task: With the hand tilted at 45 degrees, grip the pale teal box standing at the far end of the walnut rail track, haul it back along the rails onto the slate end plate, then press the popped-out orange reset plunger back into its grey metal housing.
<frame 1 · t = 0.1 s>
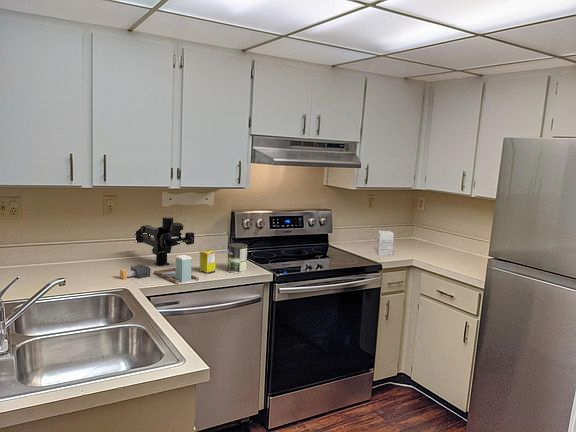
hand: (186, 242, 234), 17 cm above the worktop, tool horizontal, fingers open, 9 cm apart
reset plunger: (128, 273, 227), point 2 cm above the worktop, slide at 4.0 cm
reset housing: (140, 275, 231), on the worktop
supplement box: (207, 272, 243), on the worktop
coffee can: (237, 271, 248), on the worktop
pale teal box: (183, 280, 227), resting on track
track: (171, 275, 235), on the worktop
supplement box 2: (384, 254, 302), on the worktop
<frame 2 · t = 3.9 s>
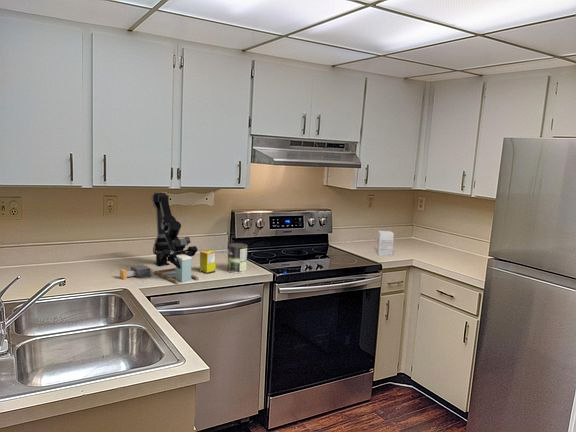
hand: (184, 267, 225), 7 cm above the worktop, tool tilted 45°, fingers closed on pale teal box, 5 cm apart
pale teal box: (183, 280, 227), resting on track, touching gripper
everything else where it was.
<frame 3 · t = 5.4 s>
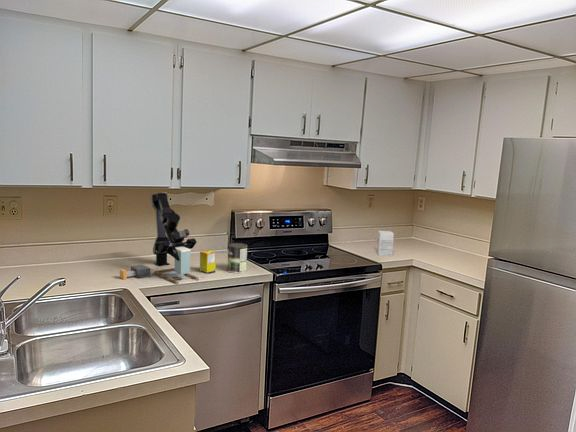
hand: (183, 259, 225), 10 cm above the worktop, tool tilted 45°, fingers closed on pale teal box, 5 cm apart
pale teal box: (182, 272, 227), point 4 cm above the worktop, touching gripper
everything else where it was.
when the fingers open (7 cm above the worktop, at t = 7.3 s): pale teal box stays where it is, resting on track.
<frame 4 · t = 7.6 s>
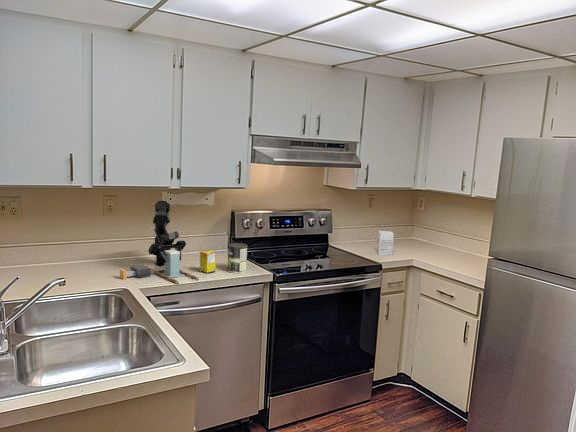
hand: (173, 261, 233), 8 cm above the worktop, tool tilted 45°, fingers open, 8 cm apart
pale teal box: (171, 274, 235), resting on track
everything else where it was.
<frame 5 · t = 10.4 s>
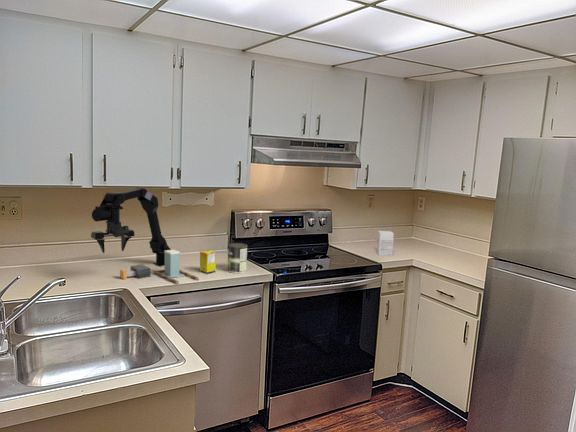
hand: (113, 251, 220), 14 cm above the worktop, tool pointing down, fingers open, 9 cm apart
nothing on the worktop moved.
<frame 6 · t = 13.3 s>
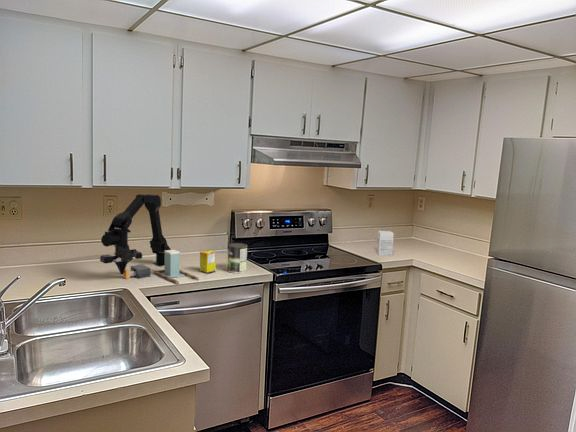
hand: (121, 274, 225), 2 cm above the worktop, tool pointing down, fingers closed
reset plunger: (131, 272, 228), point 2 cm above the worktop, slide at 2.5 cm, touching gripper
everything else where it was.
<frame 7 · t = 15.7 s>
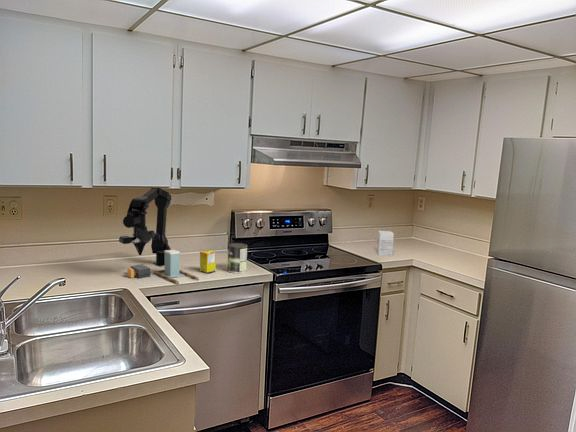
hand: (140, 254, 230), 10 cm above the worktop, tool pointing down, fingers closed
reset plunger: (136, 272, 230), point 2 cm above the worktop, slide at 0.2 cm
everything else where it was.
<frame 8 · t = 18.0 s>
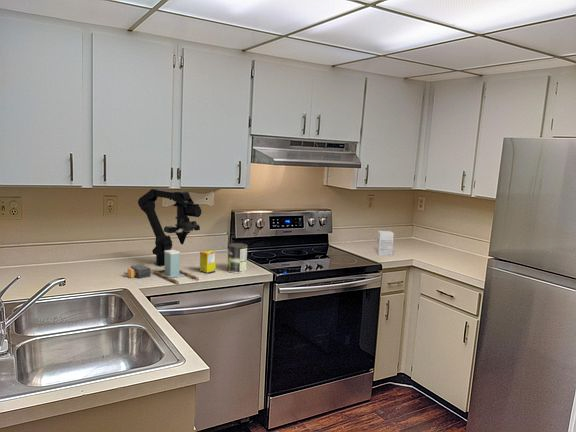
hand: (182, 244, 247), 13 cm above the worktop, tool pointing down, fingers closed
nothing on the worktop moved.
at the end: pale teal box inside the target area on the track (0.1 cm from its centre), point 0.5 cm above the track's base; pale teal box tilted 0°; reset plunger slide at 0.2 cm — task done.
